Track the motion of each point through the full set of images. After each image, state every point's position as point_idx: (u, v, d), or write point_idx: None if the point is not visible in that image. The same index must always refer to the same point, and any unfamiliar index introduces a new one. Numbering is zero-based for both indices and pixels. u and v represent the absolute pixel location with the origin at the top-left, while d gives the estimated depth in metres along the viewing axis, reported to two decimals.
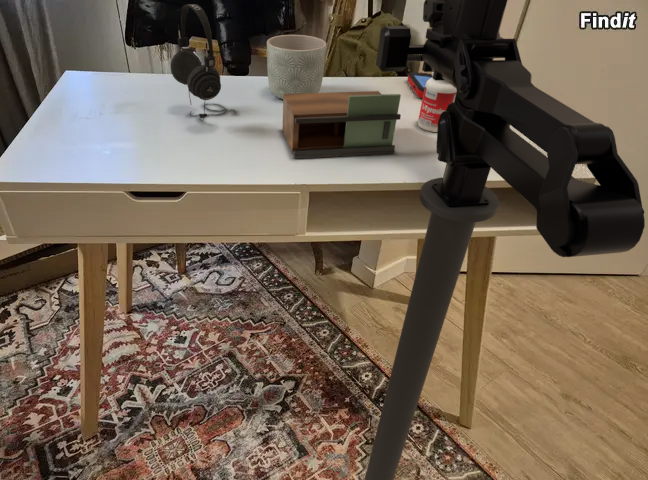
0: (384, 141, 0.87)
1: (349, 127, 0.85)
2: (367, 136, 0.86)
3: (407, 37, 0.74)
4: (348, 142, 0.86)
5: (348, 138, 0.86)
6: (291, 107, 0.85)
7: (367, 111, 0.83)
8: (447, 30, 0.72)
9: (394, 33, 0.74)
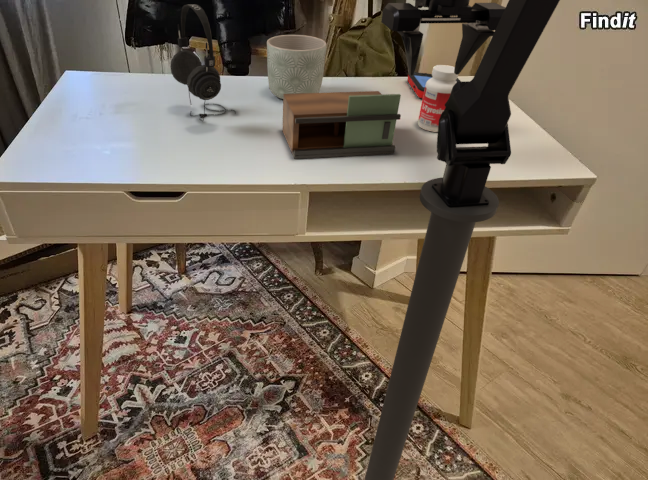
0: (384, 141, 0.87)
1: (349, 127, 0.85)
2: (367, 136, 0.86)
3: (405, 3, 0.76)
4: (348, 142, 0.86)
5: (348, 138, 0.86)
6: (291, 107, 0.85)
7: (367, 111, 0.83)
8: None
9: None
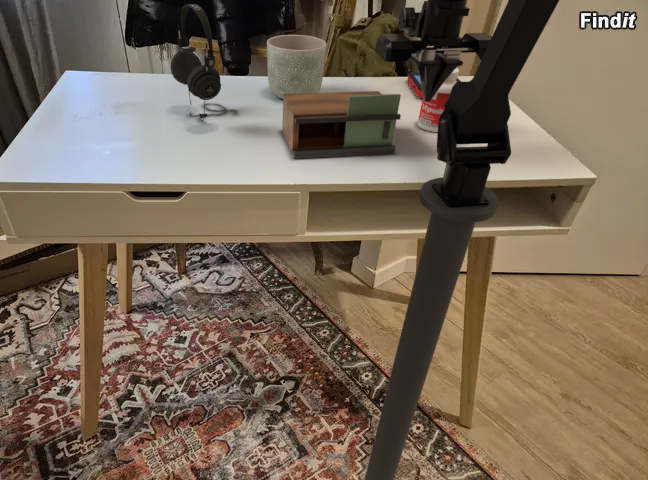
0: (384, 141, 0.87)
1: (349, 127, 0.85)
2: (367, 136, 0.86)
3: (398, 34, 0.79)
4: (348, 142, 0.86)
5: (348, 138, 0.86)
6: (291, 107, 0.85)
7: (367, 111, 0.83)
8: None
9: None
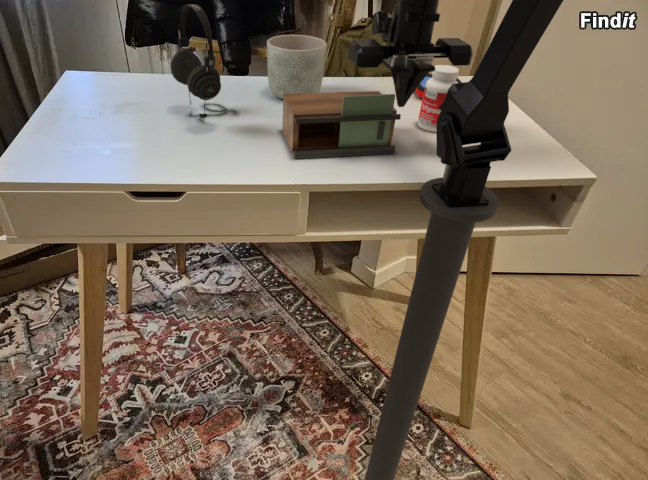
0: (379, 141, 0.87)
1: (343, 127, 0.84)
2: (361, 136, 0.86)
3: (370, 39, 0.79)
4: (343, 142, 0.86)
5: (343, 138, 0.86)
6: (291, 107, 0.85)
7: (362, 111, 0.83)
8: None
9: None
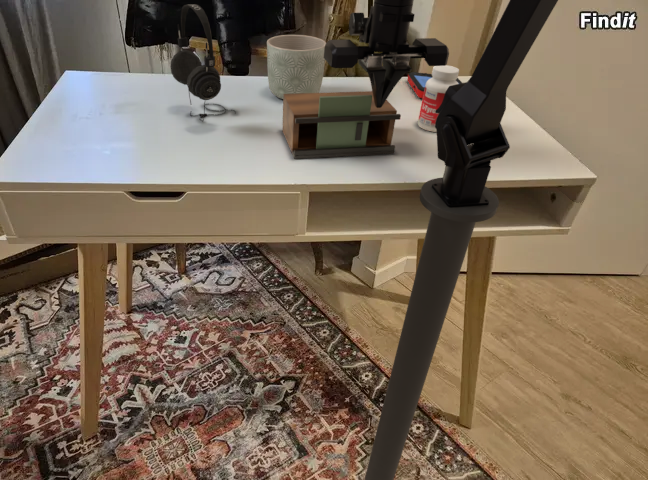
0: (357, 142, 0.87)
1: (320, 128, 0.84)
2: (339, 137, 0.85)
3: None
4: (320, 143, 0.86)
5: (320, 139, 0.85)
6: (291, 107, 0.85)
7: (339, 112, 0.83)
8: None
9: None
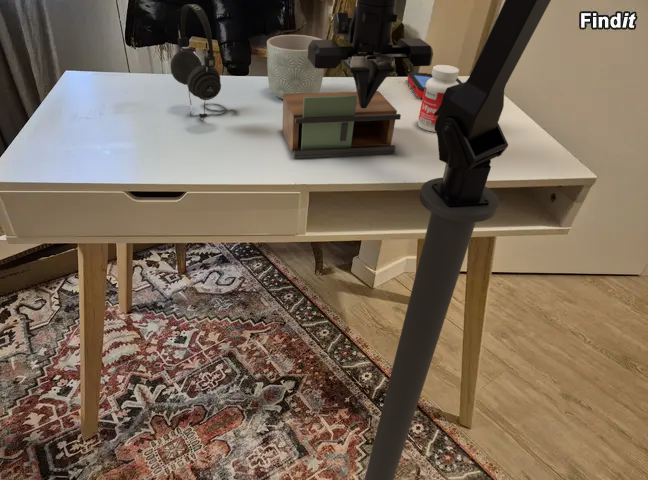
0: (342, 143, 0.86)
1: (305, 129, 0.83)
2: (324, 138, 0.85)
3: (330, 40, 0.78)
4: (305, 144, 0.85)
5: (305, 140, 0.85)
6: (291, 107, 0.85)
7: (323, 113, 0.82)
8: None
9: None
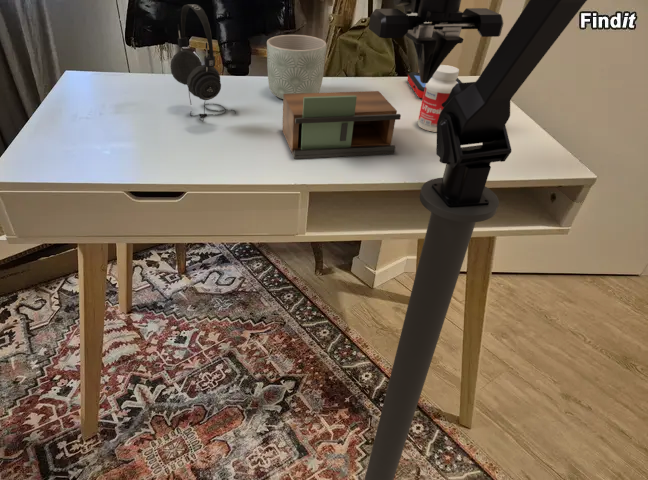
0: (342, 143, 0.86)
1: (305, 129, 0.83)
2: (324, 138, 0.85)
3: (394, 9, 0.73)
4: (305, 144, 0.85)
5: (305, 140, 0.85)
6: (291, 107, 0.85)
7: (323, 113, 0.82)
8: None
9: None
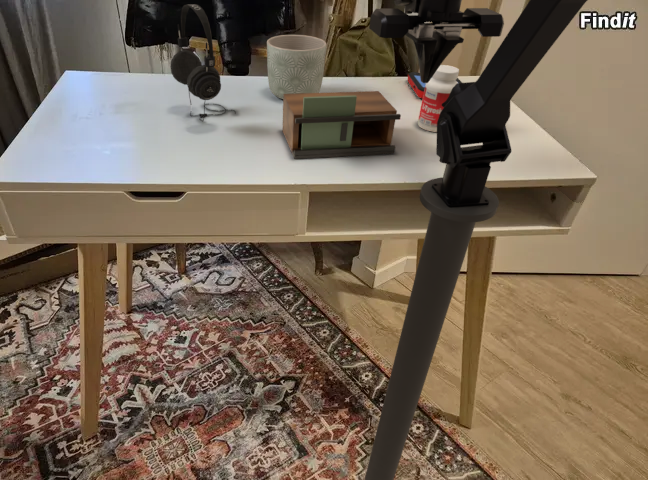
0: (342, 143, 0.86)
1: (305, 129, 0.83)
2: (324, 138, 0.85)
3: None
4: (305, 144, 0.85)
5: (305, 140, 0.85)
6: (291, 107, 0.85)
7: (323, 113, 0.82)
8: None
9: None
